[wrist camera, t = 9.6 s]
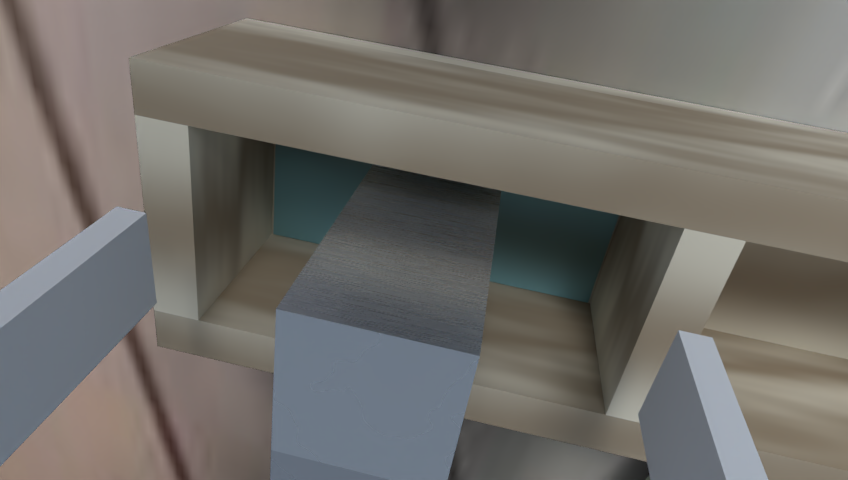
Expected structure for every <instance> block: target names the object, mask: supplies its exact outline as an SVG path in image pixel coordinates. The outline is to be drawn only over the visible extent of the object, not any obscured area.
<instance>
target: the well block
mask: <svg viewBox="0 0 848 480" xmlns="http://www.w3.org/2000/svg"><path fill="white" fill-rule="evenodd" d="M129 65H130V75H131V85H132V95H133V105H134V115H135V125H136V135H137V145H138V155H139V165H140V175H141V185H142V195H143V205H144V213H146V215H147V224H148V232H149V241H150V249H151V258H152V266H153V275H154V283H155V292H156V300H157V303H156V304H155V305H154V315H155V325H156V335H157V345H158V346H159V347H164V348H168V349H172V350H176V351H181V352H185V353H189V354H193V355H197V356H202V357H206V358H210V359H214V360H219V361H223V362H227V363H231V364H235V365H240V366H244V367H248V368H252V369H257V370H261V371H265V372H269V373H274V352H275V322H276V308H277V307H278V305H279V304H280V302H281V301H282V299H283V298H284V296H285V295H286V293H287V292H288V290H289V289H290V287H291V286H292V284H293V283H294V281H295V280H296V278H297V277H298V275H299V274H300V272H301V271H302V269H303V268H304V266H305V265H306V263H307V262H308V260H309V259H310V257H311V256H312V254H313V253H314V251H315V250H316V248H317V247H318V246H319V244H320V243H321V241H322V240H323V238H324V237H325V235H326V234H327V232H328V231H329V229H330V228H331V226H332V225H333V223H334V222H335V220H336V219H337V217H338V216H339V214H340V213H341V211H342V210H343V208H344V207H345V205H346V204H347V202H348V201H349V199H350V198H351V196H352V195H353V193H354V192H355V190H356V189H357V187H358V186H359V184H360V183H361V181H362V180H363V179H364V177H365V176H366V174H367V173H368V171H369V170H370V168H371V167H372V165H373V164H375V165H380V166H384V167H389V168H394V169H399V170H404V171H409V172H413V173H418V174H423V175H428V176H433V177H438V178H443V179H447V180H452V181H457V182H462V183H467V184H472V185H476V186H481V187H486V188H491V189H496V190H501V197H500V205H499V213H498V220H497V228H496V236H495V244H494V251H493V259H492V267H491V274H490V282H489V290H488V298H487V305H486V313H485V321H484V329H483V336H482V344H481V352H480V358H479V362H478V365H477V369H476V373H475V377H474V381H473V385H472V388H471V392H470V396H469V400H468V404H467V407H466V411H465V415H464V419H468V420H472V421H476V422H481V423H485V424H489V425H493V426H498V427H502V428H506V429H510V430H514V431H519V432H523V433H527V434H531V435H536V436H540V437H544V438H548V439H553V440H557V441H561V442H565V443H569V444H574V445H578V446H582V447H586V448H591V449H595V450H599V451H603V452H608V453H612V454H616V455H620V456H624V457H629V458H633V459H637V460H641V461H646V462H647V459H646V454H645V449H644V443H643V438H642V433H641V427H640V422H639V417H638V413H639V411H640V409H641V407H642V405H643V403H644V401H645V399H646V396H647V394H648V392H649V390H650V388H651V386H652V384H653V382H654V380H655V378H656V376H657V374H658V372H659V369H660V367H661V365H662V363H663V361H664V359H665V357H666V355H667V353H668V351H669V349H670V347H671V344H672V342H673V340H674V338H675V336H676V334H677V332H678V330H680V331H685V332H689V333H694V334H698V335H703V336H708V337H712V338H713V340H714V342H715V345H716V348H717V350H718V353H719V355H720V358H721V360H722V363H723V365H724V368H725V370H726V373H727V376H728V378H729V381H730V383H731V386H732V388H733V391H734V393H735V396H736V399H737V401H738V404H739V406H740V409H741V411H742V414H743V416H744V419H745V421H746V424H747V427H748V429H749V432H750V434H751V437H752V439H753V442H754V444H755V447H756V450H757V452H758V455H759V457H760V460H761V462H762V465H763V467H764V470H765V472H766V475H767V478H768V480H848V133H845V132H840V131H835V130H829V129H824V128H819V127H814V126H808V125H803V124H798V123H793V122H787V121H782V120H777V119H772V118H767V117H761V116H756V115H751V114H746V113H740V112H735V111H730V110H725V109H719V108H714V107H709V106H704V105H699V104H693V103H688V102H683V101H678V100H672V99H667V98H662V97H657V96H652V95H646V94H641V93H636V92H631V91H625V90H620V89H615V88H610V87H604V86H599V85H594V84H589V83H584V82H578V81H573V80H568V79H563V78H557V77H552V76H547V75H542V74H536V73H531V72H526V71H521V70H516V69H510V68H505V67H500V66H495V65H489V64H484V63H479V62H474V61H468V60H463V59H458V58H453V57H448V56H442V55H437V54H432V53H427V52H421V51H416V50H411V49H406V48H400V47H395V46H390V45H385V44H380V43H374V42H369V41H364V40H359V39H353V38H348V37H343V36H338V35H332V34H327V33H322V32H317V31H312V30H306V29H301V28H296V27H291V26H285V25H280V24H275V23H270V22H264V21H259V20H254V19H249V18H246V19H243V20H240V21H237V22H234V23H231V24H228V25H225V26H222V27H219V28H216V29H213V30H210V31H207V32H204V33H201V34H198V35H195V36H192V37H189V38H186V39H183V40H180V41H177V42H174V43H171V44H168V45H165V46H162V47H159V48H156V49H153V50H150V51H147V52H144V53H141V54H138V55H135V56H132V57H129Z"/></svg>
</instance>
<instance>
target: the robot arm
mask: <svg viewBox="0 0 848 480" xmlns="http://www.w3.org/2000/svg"><path fill="white" fill-rule="evenodd" d="M156 303H157V300H156V292H155V283H154V275H153V266H152V258H151V249H150V241H149V232H148V224H147V215H146V213H144V212H139V211H135V210H130V209H126V208H121V207H115V208H114V209H113V210H111V211H110V212H108V213H107V214H106V215H104V216H103V217H101V218H100V219H99V220H97V221H96V222H94V223H93V224H92V225H90V226H89V227H88V228H86V229H85V230H83V231H82V232H81V233H79V234H78V235H76V236H75V237H74V238H72V239H71V240H69V241H68V242H67V243H65V244H64V245H63V246H61V247H60V248H58V249H57V250H56V251H54V252H53V253H51V254H50V255H49V256H47V257H46V258H44V259H43V260H42V261H40V262H39V263H38V264H36V265H35V266H33V267H32V268H31V269H29V270H28V271H26V272H25V273H24V274H22V275H21V276H19V277H18V278H17V279H15V280H14V281H13V282H11V283H10V284H8V285H7V286H6V287H4V288H3V289H1V290H0V466H1V465H2V464H3V463H4V462H5V461H6V460H7V459H8V458H9V457H10V456H11V455H12V454H13V452H14V451H15V450H16V449H17V448H18V447H19V446H20V445H21V444H22V443H23V442H24V441H25V440H26V439H27V438H28V437H29V436H30V435H31V434H32V433H33V432H34V431H35V429H36V428H37V427H38V426H39V425H40V424H41V423H42V422H43V421H44V420H45V419H46V418H47V417H48V416H49V415H50V414H51V413H52V412H53V411H54V410H55V409H56V408H57V406H58V405H59V404H60V403H61V402H62V401H63V400H64V399H65V398H66V397H67V396H68V395H69V394H70V393H71V392H72V391H73V390H74V389H75V388H76V387H77V386H78V385H79V383H80V382H81V381H82V380H83V379H84V378H85V377H86V376H87V375H88V374H89V373H90V372H91V371H92V370H93V369H94V368H95V367H96V366H97V365H98V364H99V363H100V362H101V360H102V359H103V358H104V357H105V356H106V355H107V354H108V353H109V352H110V351H111V350H112V349H113V348H114V347H115V346H116V345H117V344H118V343H119V342H120V341H121V340H122V339H123V337H124V336H125V335H126V334H127V333H128V332H129V331H130V330H131V329H132V328H133V327H134V326H135V325H136V324H137V323H138V322H139V321H140V320H141V319H142V318H143V317H144V316H145V314H146V313H147V312H148V311H149V310H150V309H151V308H152V307H153V306H154V305H155V304H156ZM638 417H639V422H640V427H641V433H642V438H643V443H644V449H645V454H646V459H647V464H648V470H649V475H650V480H768V478H767V475H766V472H765V470H764V467H763V465H762V462H761V460H760V457H759V455H758V452H757V450H756V447H755V444H754V442H753V439H752V437H751V434H750V432H749V429H748V427H747V424H746V421H745V419H744V416H743V414H742V411H741V409H740V406H739V404H738V401H737V399H736V396H735V393H734V391H733V388H732V386H731V383H730V381H729V378H728V376H727V373H726V370H725V368H724V365H723V363H722V360H721V358H720V355H719V353H718V350H717V348H716V345H715V342H714V340H713V338H712V337H708V336H703V335H698V334H694V333H689V332H685V331H680V330H678V332H677V334H676V336H675V338H674V340H673V342H672V344H671V347H670V349H669V351H668V353H667V355H666V357H665V359H664V361H663V363H662V365H661V367H660V369H659V372H658V374H657V376H656V378H655V380H654V382H653V384H652V386H651V388H650V390H649V392H648V394H647V396H646V399H645V401H644V403H643V405H642V407H641V409H640V411H639V413H638Z"/></svg>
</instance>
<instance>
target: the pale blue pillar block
mask: <svg viewBox="0 0 848 480" xmlns="http://www.w3.org/2000/svg"><path fill="white" fill-rule="evenodd" d="M500 197H501V190H496V189H491V188H486V187H481V186H476V185H472V184H467V183H462V182H457V181H452V180H447V179H443V178H438V177H433V176H428V175H423V174H418V173H413V172H409V171H404V170H399V169H394V168H389V167H384V166H380V165H375V164H373V165H372V167H371V168H370V170H369V171H368V173H367V174H366V176H365V177H364V179H363V180H362V181H361V183H360V184H359V186H358V187H357V189H356V190H355V192H354V193H353V195H352V196H351V198H350V199H349V201H348V202H347V204H346V205H345V207H344V208H343V210H342V211H341V213H340V214H339V216H338V217H337V219H336V220H335V222H334V223H333V225H332V226H331V228H330V229H329V231H328V232H327V234H326V235H325V237H324V238H323V240H322V241H321V243H320V244H319V246H318V247H317V248H316V250H315V251H314V253H313V254H312V256H311V257H310V259H309V260H308V262H307V263H306V265H305V266H304V268H303V269H302V271H301V272H300V274H299V275H298V277H297V278H296V280H295V281H294V283H293V284H292V286H291V287H290V289H289V290H288V292H287V293H286V295H285V296H284V298H283V299H282V301H281V302H280V304H279V305H278V307H277V308H276V322H275V352H274V381H273V411H272V441H271V470H270V480H448V476H449V472H450V468H451V465H452V461H453V457H454V453H455V449H456V446H457V442H458V438H459V434H460V430H461V426H462V423H463V419H464V415H465V411H466V407H467V404H468V400H469V396H470V392H471V388H472V385H473V381H474V377H475V373H476V369H477V365H478V362H479V358H480V352H481V344H482V336H483V329H484V321H485V313H486V305H487V298H488V290H489V282H490V274H491V267H492V259H493V251H494V244H495V236H496V228H497V220H498V213H499V205H500Z"/></svg>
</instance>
